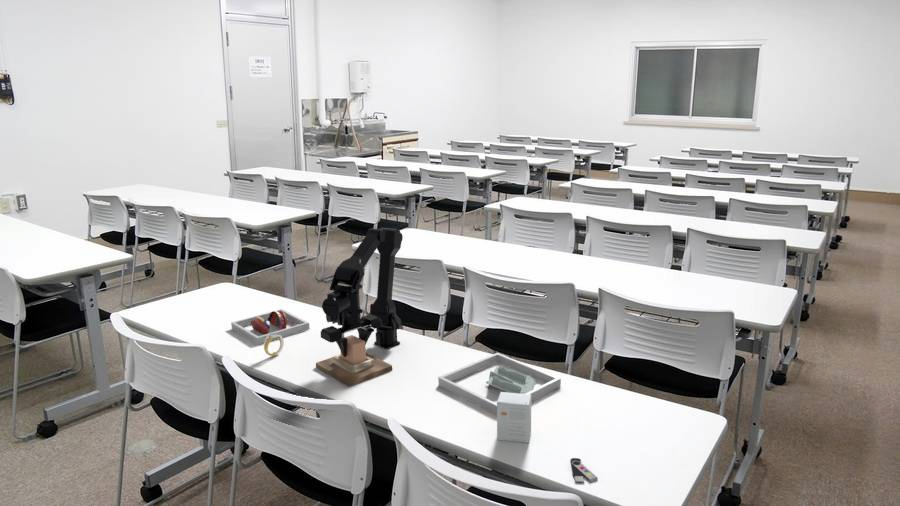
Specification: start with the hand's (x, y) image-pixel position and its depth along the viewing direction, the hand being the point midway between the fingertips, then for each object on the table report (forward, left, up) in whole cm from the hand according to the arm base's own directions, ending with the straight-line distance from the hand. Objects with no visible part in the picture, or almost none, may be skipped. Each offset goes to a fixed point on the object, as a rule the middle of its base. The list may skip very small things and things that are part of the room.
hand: (353, 353), depth 198 cm
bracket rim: (-24, +39, -5) cm, 46 cm away
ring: (+13, -26, -5) cm, 30 cm away
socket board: (0, 0, -5) cm, 5 cm away
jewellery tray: (+3, -48, -5) cm, 48 cm away
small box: (-7, +60, -5) cm, 61 cm away
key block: (0, 0, -4) cm, 4 cm away
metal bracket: (-25, +42, -6) cm, 50 cm away
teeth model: (+3, -48, -5) cm, 49 cm away
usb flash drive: (-7, +81, -6) cm, 82 cm away
